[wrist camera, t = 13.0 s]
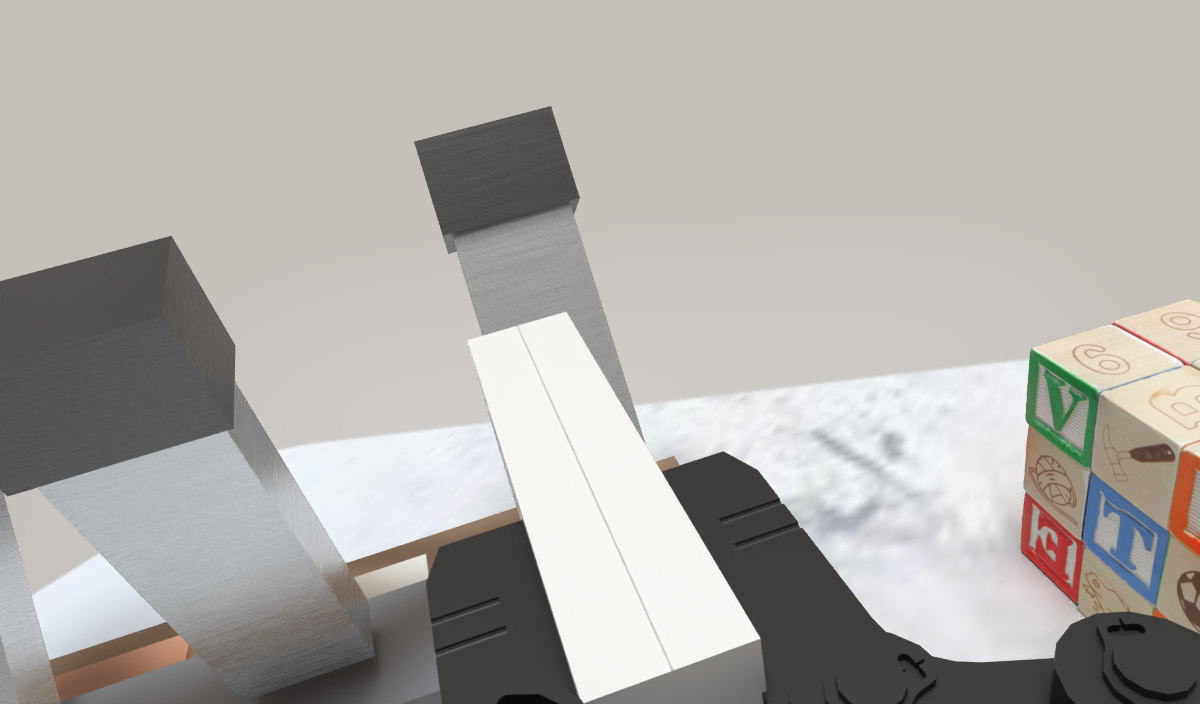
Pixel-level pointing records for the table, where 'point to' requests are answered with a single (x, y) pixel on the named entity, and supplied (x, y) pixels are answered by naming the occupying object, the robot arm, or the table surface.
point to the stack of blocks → (1118, 465)
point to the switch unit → (332, 700)
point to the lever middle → (171, 465)
